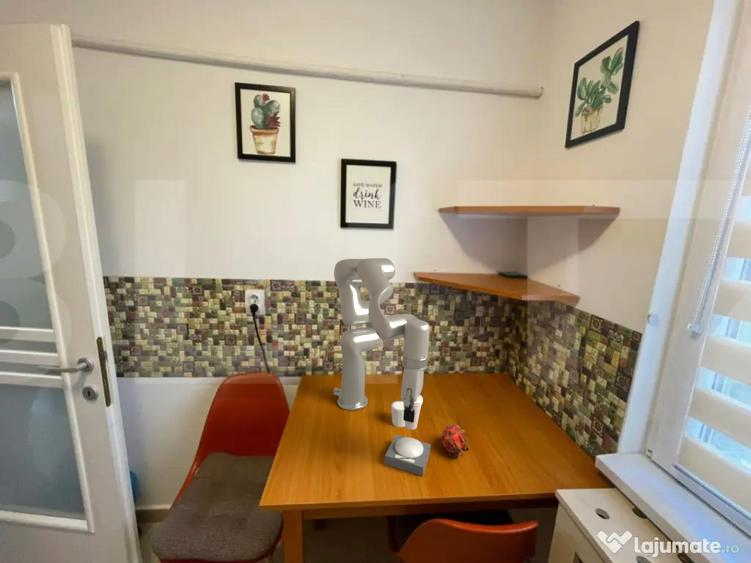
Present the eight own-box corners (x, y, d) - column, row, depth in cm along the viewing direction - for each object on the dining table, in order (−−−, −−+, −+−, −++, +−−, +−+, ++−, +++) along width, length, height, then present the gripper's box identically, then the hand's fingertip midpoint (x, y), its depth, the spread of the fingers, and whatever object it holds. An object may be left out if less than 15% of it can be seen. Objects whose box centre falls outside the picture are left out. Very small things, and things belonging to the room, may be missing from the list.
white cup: (389, 417, 121) (390, 400, 120) (406, 417, 122) (407, 400, 120) (391, 428, 114) (392, 410, 113) (410, 428, 115) (411, 410, 114)
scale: (384, 464, 96) (385, 453, 96) (395, 442, 107) (395, 432, 106) (422, 476, 92) (423, 465, 92) (430, 452, 102) (430, 442, 102)
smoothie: (422, 422, 100) (425, 381, 98) (418, 434, 94) (421, 391, 92) (403, 418, 102) (405, 378, 100) (398, 429, 96) (400, 387, 94)
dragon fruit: (451, 441, 111) (457, 470, 100) (433, 428, 110) (437, 456, 99) (468, 426, 109) (476, 455, 97) (449, 413, 108) (455, 440, 96)
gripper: (410, 349, 104) (407, 399, 107) (394, 369, 88) (391, 427, 91) (432, 353, 101) (428, 404, 104) (420, 374, 85) (416, 434, 88)
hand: (411, 414), depth 97 cm, fingers closed on smoothie, 6 cm apart
